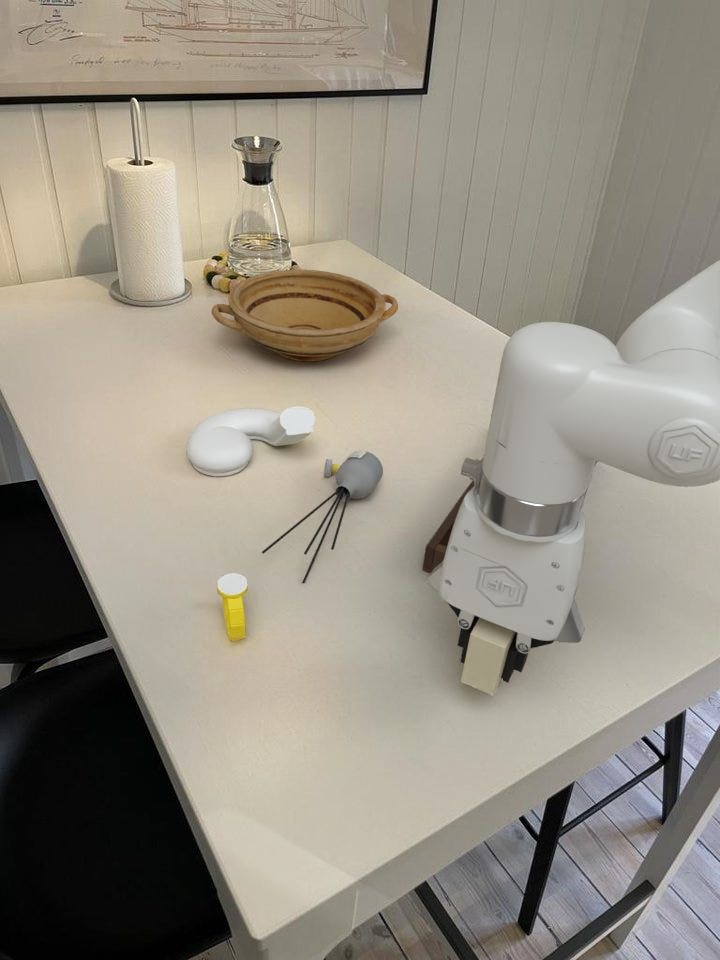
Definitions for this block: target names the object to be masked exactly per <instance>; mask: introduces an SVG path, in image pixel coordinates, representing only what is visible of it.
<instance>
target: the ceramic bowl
mask: <svg viewBox="0 0 720 960" xmlns="http://www.w3.org/2000/svg"><path fill="white" fill-rule="evenodd" d="M386 303H387V304H390V305H391V306H390V307H389V308H388V309H386V308H387V304H386ZM398 310H399V302H398V300H397V299H396V298H395V297H394V296H392V295H389V294H387V293H386V294H384V293H383V294H381V293H380V291H378V290H377V289H376V288H375V287H373V286H372V285H370V284H368V283H367V282H364V281H362V280H360V279H358V278H354V277H352V276H348V275H344V274H340V273H336V272H331V271H325V270H317V269H316V270H315V269H284V270H283V269H282V270H274V271H267V272H263V273H259V274H256V275H253V276H249V277H247V278H245V279H243V280H241V281H240V282H238V283H237V284H236V285H234V286H233V287H232V288H231V290H230V292H229V295H228V304H225V303H216V304H214V305H213V306H212V308H211V315H212V317H213V318H214V319H215V320H216V322H217V323H219V324H220V325H223V326H225V327H227V328H229V329H231V330H235V331H237V332H239V333H242V334H244V335H245V336H247V337H248V338H249V340H251V341H253V342H254V343H255V344H257V345H259V346H261V347H263V348H266V349H267V350H270V351H273V352H275V353H277V354H278V355H280V356H282V357H283V358H287V359H290V360H293V361H299V362H300V361H301V362H317V361H318V362H319V361H323V360H324V361H325V360H328V359H331V358H333V357H335V356H336V355H338V354H343V353H346V352H349V351H351V350H354V349H355V348H358V347H360V346H362V345H363V344H364V343H365V342H366V341H368V340H369V339H370V338H371V337H372V336H373V335H374V333H375V332H376V330H377V329H378V328H379V325H380V324H381V323H383V322H385V321H386V320H388V319H390V318H391V317H393V316H394V315H395V314H396V313H397V312H398ZM222 313H223V314H227V315H230V316H233V318H234V320H232V319H230V318H228V317H226V316H225V315H223V314H222Z"/></svg>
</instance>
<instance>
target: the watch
mask: <svg viewBox="0 0 720 960" xmlns="http://www.w3.org/2000/svg"><path fill="white" fill-rule="evenodd" d="M248 590H249V582H248V580H247V578H246V577H245V576H244V575H242V574H240V573H235V572H232V573H231V572H230V573H227V574H224V575H222V576H221V577H220V578H219V579H218V580H217V582H216V591H217V595H218V596H220V597H221V600H222V608H223V609H222V610H223V614H224V615H223V617H224V620H225V627H226V633H227V639H228V640H229V641H230V642H232V641H233V642H234V641H237V640H243V639H245V637H246V616H245V608H244V600H243V597H244V596H246V594H247V593H248Z"/></svg>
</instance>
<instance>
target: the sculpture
mask: <svg viewBox="0 0 720 960" xmlns="http://www.w3.org/2000/svg"><path fill="white" fill-rule="evenodd" d="M315 422H316V416H315V413H314V412H313V411H312V409H310V408H308V407H306V406H299V405H298V406H291V407H288V408H286V409H284V410H283V411H282V412H281V413H280V412H278V411H276V410H272V409H267V408H258V407H257V408H256V407H244V408H235V409H234V408H233V409H229V410H225V411H221V412H218V413H214V414H212V415H210V416H208V417H206V418H204V419H203V420H202V421H200V422H199V423H198V424H197V425H196V426H195V427H194V428H193V430H192V431H191V433H190V435H189V437H188V440H187V444H186V456H187V458H188V460H189V462H191V464H192V466H193V468H194V469H195V470H196V471H197V472H199V473H201V474H203V475H206V476H210V477H228V476H232V475H236V474H237V473H240V472H242V471H243V470H244V469H245V468H246V467H247V466H248V464H249V462H250V459H251V457H252V456H253V452H254V448H253V443H252V440H256V441H261V442H265V443H266V444H269V445H271V446H272V447H273V446H274V447H281V446H288V445H289V446H290V445H296V444H299V443H300V442H302V441H303V440H305V439H306V438H307V437H309V436H310V434H311V433H313V432H314V428H313V426H314V424H315Z"/></svg>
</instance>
